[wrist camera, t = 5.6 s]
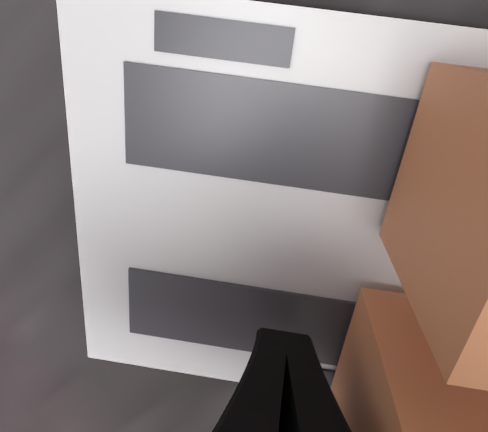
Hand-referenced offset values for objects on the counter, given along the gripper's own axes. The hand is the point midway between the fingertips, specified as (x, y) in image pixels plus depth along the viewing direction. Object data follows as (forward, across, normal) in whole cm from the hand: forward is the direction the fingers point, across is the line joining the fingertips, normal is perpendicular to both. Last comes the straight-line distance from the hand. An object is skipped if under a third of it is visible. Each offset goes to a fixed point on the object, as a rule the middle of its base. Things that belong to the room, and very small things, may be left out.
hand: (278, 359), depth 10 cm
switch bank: (+3, 0, -3) cm, 4 cm away
